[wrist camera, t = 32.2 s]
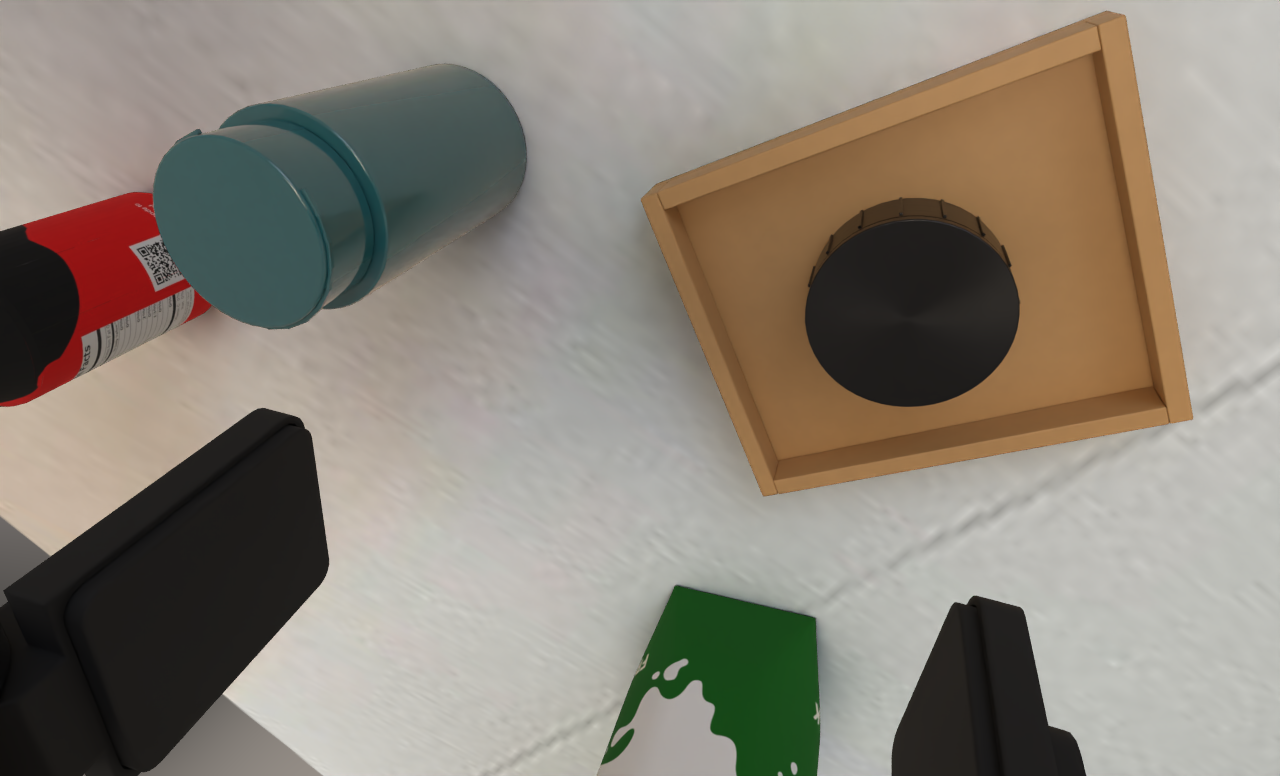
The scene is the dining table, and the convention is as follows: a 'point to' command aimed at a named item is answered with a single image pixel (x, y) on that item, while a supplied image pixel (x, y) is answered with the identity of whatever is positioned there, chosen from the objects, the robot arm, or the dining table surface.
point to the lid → (912, 303)
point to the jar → (335, 190)
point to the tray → (986, 187)
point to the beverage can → (84, 293)
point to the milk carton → (721, 694)
